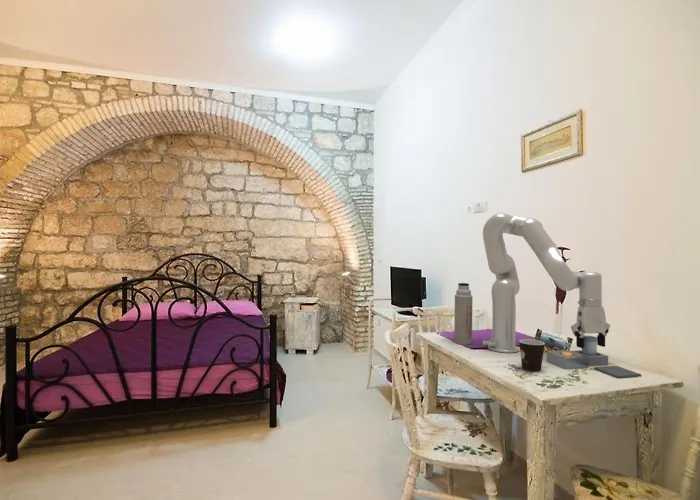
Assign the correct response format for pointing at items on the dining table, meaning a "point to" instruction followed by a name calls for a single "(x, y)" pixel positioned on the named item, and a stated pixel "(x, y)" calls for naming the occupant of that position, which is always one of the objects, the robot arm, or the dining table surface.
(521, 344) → the coffee mug
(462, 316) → the thermos bottle
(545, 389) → the dining table surface
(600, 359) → the gray square tray
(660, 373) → the dining table surface
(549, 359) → the block
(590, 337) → the cylinder
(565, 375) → the dining table surface
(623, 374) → the rubber mat
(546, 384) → the dining table surface
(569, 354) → the plunger button
